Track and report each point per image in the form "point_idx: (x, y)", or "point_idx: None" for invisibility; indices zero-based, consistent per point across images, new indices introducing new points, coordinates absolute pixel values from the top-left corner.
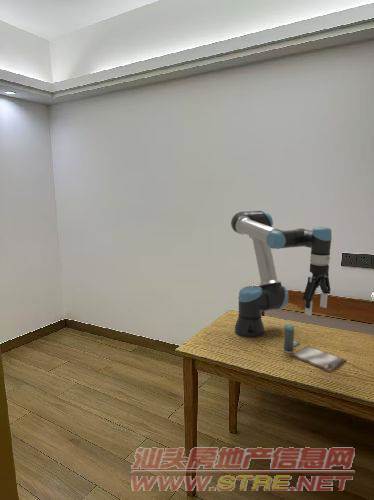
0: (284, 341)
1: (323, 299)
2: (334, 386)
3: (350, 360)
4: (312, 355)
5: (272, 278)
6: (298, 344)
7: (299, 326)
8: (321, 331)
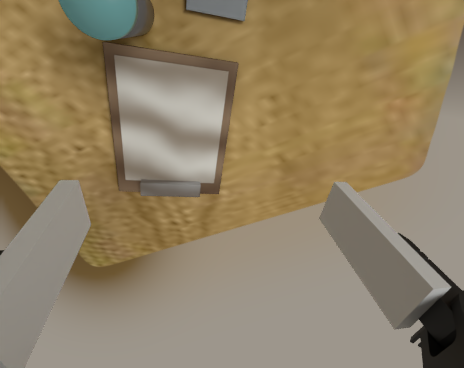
0: None
1: (365, 251)
2: None
3: (232, 194)
4: (167, 116)
5: None
6: (231, 18)
7: None
8: (409, 45)
